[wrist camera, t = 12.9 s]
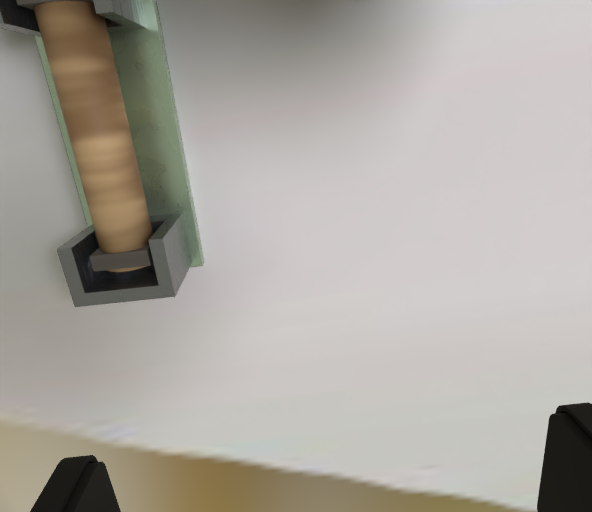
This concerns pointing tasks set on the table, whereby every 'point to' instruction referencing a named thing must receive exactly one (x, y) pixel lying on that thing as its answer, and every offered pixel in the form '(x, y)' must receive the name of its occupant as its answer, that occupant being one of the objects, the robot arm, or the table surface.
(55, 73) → the rail
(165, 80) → the bracket board
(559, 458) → the robot arm
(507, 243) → the table surface
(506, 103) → the table surface
